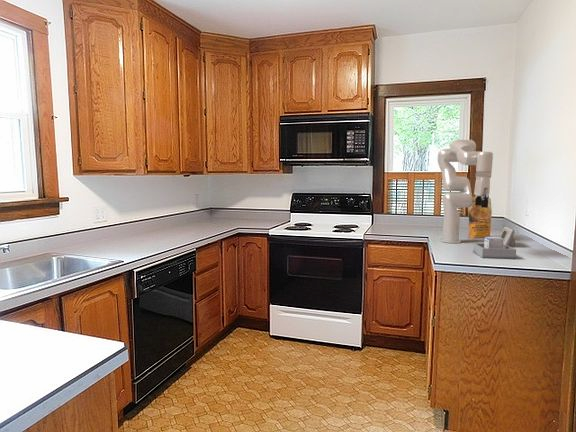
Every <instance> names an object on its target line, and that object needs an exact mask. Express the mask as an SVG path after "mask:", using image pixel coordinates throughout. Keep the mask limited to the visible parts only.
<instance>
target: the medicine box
mask: <svg viewBox="0 0 576 432" xmlns="http://www.w3.org/2000/svg"><path fill="white" fill-rule="evenodd" d="M483 243H484V248H491V249H503V238H501V237H500V236H490V237H485V238H484V242H483Z"/></svg>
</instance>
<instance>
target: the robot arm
mask: <svg viewBox="0 0 576 432" xmlns="http://www.w3.org/2000/svg"><path fill="white" fill-rule="evenodd" d="M476 149H477V143H476V142H475V140H473V139H455V140H453V141H452V142H451V143H450V145H449V148H443V149H441V150H439V152H438V153H437V164H438V166H439V169H440V171H441V179H442V187H443V189H444V190H445V191H446V192H447V193H445V194H443V196H442V204H443V219H442V220H443V223H442V224H443V225H442V238H440V239H439V241H440V242H441V243H447V244H448V243H449V244H459V243H460V244H461V243H462V239H460V220H461V219H460V218H461V214H460V212H459V210H458V209H457V208H468V207H469V206H471V205H472V197H473V194H474V197H475V205H480V206H481V207H482V208H487V207H488V200H489V198H490V190H491V178H492V174H493V173H492V171H493V160H494V159H493V158H494V154H493V152H492V151H478V150H477V151H476ZM451 163H460V164H461V165H464V166H475V167H476V169H475V178H476V179H475V182H474V184H475V185H474V191H473V193H472V187H471V182H470V179H469V178H468V177H467V176H458V175H457V172H456V169H455V167H454V166H453V164H451ZM481 197H482V198H481Z"/></svg>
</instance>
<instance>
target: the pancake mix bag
mask: <svg viewBox="0 0 576 432" xmlns="http://www.w3.org/2000/svg"><path fill="white" fill-rule="evenodd" d="M475 197H476V196H472V205H471V206H469V207H467V215H468V230H469V231H468V232H469V233H468V234H467V238H468V239H469V238H470V239H485V237H491V229H492V218H493V217H492V214H493V213H492V211H493V209H492V200H491V198H490V197H489V200H488V207H487V208H482V207H481V206H480V205H475ZM481 198H482V197H481Z"/></svg>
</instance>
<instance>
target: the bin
mask: <svg viewBox="0 0 576 432" xmlns="http://www.w3.org/2000/svg"><path fill="white" fill-rule="evenodd" d="M472 253H473V254H474V255H477V256H478V257H480V258H482V259H498V260H500V259H502V260H517V249H516V248H515V247H510V246H507V245H505V244H503V249H491V248H484V242H483V243H482V242H481V243H479V242H476V243H475V242H473V243H472Z"/></svg>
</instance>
